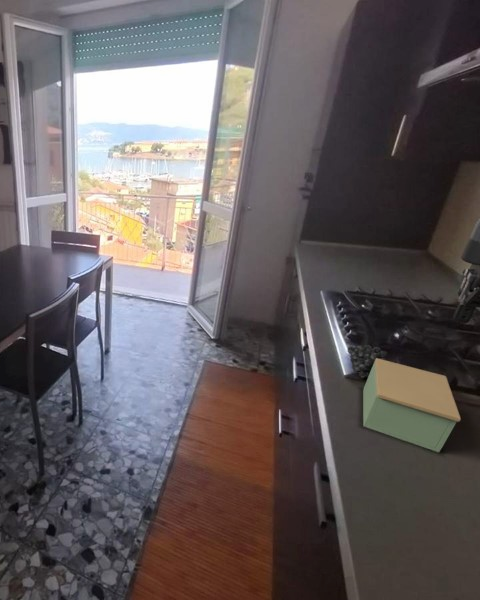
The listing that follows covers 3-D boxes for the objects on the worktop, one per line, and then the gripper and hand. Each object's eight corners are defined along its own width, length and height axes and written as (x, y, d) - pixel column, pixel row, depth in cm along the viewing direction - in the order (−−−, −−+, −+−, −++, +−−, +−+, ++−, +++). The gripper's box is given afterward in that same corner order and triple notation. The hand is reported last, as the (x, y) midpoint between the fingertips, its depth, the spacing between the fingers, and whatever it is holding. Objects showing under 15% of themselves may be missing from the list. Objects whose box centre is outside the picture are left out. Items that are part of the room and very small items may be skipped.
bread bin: (439, 452, 73) (458, 420, 69) (363, 426, 79) (376, 395, 76) (428, 409, 84) (444, 379, 80) (363, 389, 91) (374, 360, 87)
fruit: (353, 326, 102) (374, 353, 89) (382, 338, 101) (408, 367, 88) (334, 349, 106) (351, 378, 93) (362, 361, 105) (384, 392, 92)
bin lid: (459, 422, 68) (461, 419, 68) (376, 397, 75) (378, 394, 75) (444, 378, 80) (446, 376, 80) (374, 360, 87) (375, 357, 87)
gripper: (542, 251, 59) (494, 339, 67) (516, 233, 69) (477, 312, 76) (479, 245, 63) (440, 329, 71) (463, 229, 73) (430, 304, 80)
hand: (459, 320), depth 74 cm, fingers closed
